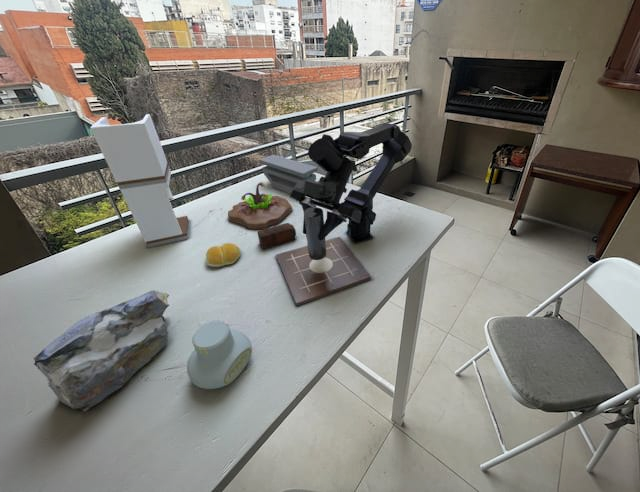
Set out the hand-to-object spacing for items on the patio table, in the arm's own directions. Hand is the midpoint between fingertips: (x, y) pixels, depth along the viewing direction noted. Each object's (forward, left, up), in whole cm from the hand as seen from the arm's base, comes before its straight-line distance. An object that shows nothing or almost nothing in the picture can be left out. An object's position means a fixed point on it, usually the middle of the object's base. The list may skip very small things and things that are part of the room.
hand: (311, 236), depth 69 cm
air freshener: (+24, +16, -12) cm, 32 cm away
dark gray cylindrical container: (-1, -1, -7) cm, 7 cm away
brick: (+5, -19, -12) cm, 23 cm away
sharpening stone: (-9, -55, -12) cm, 57 cm away
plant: (+6, -39, -12) cm, 41 cm away
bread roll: (+21, -18, -12) cm, 30 cm away
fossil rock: (+39, +7, -12) cm, 42 cm away
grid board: (-2, -2, -12) cm, 12 cm away
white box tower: (+35, -39, -12) cm, 54 cm away
